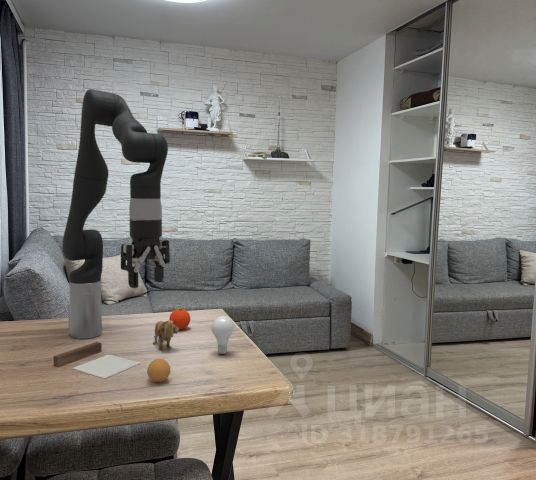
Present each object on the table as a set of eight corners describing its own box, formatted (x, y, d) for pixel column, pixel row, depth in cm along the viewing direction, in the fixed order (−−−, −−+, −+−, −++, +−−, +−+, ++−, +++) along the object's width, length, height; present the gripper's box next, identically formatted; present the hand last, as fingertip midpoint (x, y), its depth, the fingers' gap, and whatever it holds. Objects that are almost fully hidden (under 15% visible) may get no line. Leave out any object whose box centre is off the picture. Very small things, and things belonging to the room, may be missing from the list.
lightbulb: (237, 352, 137) (238, 315, 136) (226, 359, 131) (227, 320, 130) (218, 348, 139) (219, 312, 138) (207, 355, 134) (207, 317, 132)
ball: (142, 382, 114) (142, 360, 114) (158, 375, 119) (158, 353, 119) (159, 387, 112) (159, 365, 111) (175, 379, 116) (175, 358, 116)
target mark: (72, 368, 122) (72, 368, 122) (108, 355, 132) (108, 354, 132) (104, 378, 116) (104, 378, 116) (140, 363, 126) (140, 363, 126)
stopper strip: (53, 365, 124) (53, 356, 124) (96, 350, 136) (96, 341, 136) (58, 366, 123) (58, 357, 123) (101, 351, 135) (101, 342, 135)
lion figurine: (181, 351, 137) (181, 321, 136) (163, 354, 134) (163, 323, 133) (161, 337, 149) (161, 309, 148) (145, 340, 146) (145, 311, 145)
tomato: (164, 327, 159) (164, 306, 159) (183, 324, 164) (183, 304, 163) (174, 333, 153) (174, 312, 152) (194, 330, 157) (194, 309, 156)
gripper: (154, 215, 121) (155, 278, 123) (111, 218, 109) (112, 288, 111) (177, 217, 118) (177, 281, 119) (135, 219, 105) (136, 291, 107)
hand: (146, 284), depth 115 cm, fingers open, 8 cm apart
